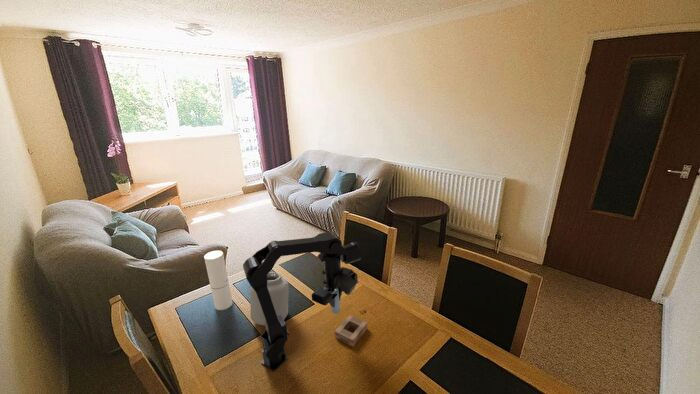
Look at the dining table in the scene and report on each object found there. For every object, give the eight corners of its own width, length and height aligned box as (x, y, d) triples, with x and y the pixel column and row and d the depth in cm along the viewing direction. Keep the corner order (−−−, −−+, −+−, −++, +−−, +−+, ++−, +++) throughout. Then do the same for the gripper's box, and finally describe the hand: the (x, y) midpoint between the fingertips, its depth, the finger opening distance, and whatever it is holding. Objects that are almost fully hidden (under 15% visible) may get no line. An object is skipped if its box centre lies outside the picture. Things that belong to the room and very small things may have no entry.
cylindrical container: (235, 299, 128) (226, 250, 120) (227, 310, 121) (217, 259, 113) (220, 298, 129) (210, 250, 120) (211, 309, 122) (200, 259, 114)
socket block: (353, 346, 101) (353, 340, 100) (335, 337, 105) (334, 331, 105) (367, 328, 109) (367, 322, 108) (349, 320, 113) (349, 314, 112)
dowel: (337, 314, 102) (335, 294, 99) (330, 311, 104) (328, 291, 101) (341, 309, 104) (340, 289, 101) (335, 306, 106) (333, 286, 103)
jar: (270, 297, 128) (263, 249, 120) (299, 303, 124) (294, 253, 116) (244, 328, 111) (234, 273, 103) (276, 336, 107) (268, 280, 99)
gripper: (336, 289, 86) (339, 329, 92) (366, 260, 101) (367, 296, 106) (308, 279, 92) (312, 317, 97) (340, 252, 107) (342, 287, 112)
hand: (335, 304), depth 103 cm, fingers closed on dowel, 3 cm apart
